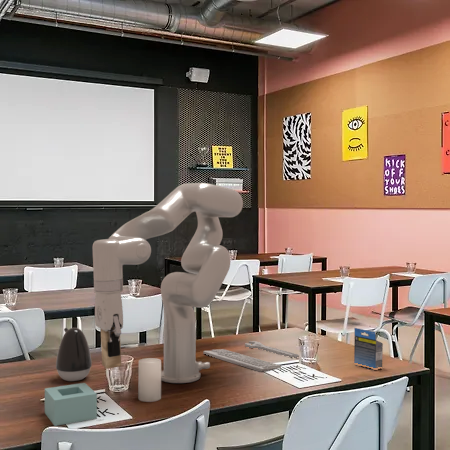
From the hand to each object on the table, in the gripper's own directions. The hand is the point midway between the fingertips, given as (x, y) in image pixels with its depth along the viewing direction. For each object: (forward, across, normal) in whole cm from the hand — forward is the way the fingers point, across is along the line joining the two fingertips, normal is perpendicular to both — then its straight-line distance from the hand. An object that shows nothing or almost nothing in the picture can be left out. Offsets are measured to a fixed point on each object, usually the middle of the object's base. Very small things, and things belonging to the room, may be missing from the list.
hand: (111, 353), depth 153 cm
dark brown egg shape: (+12, -22, -5) cm, 25 cm away
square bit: (+3, 0, 0) cm, 3 cm away
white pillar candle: (+12, +6, +8) cm, 16 cm away
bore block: (+11, +8, -14) cm, 20 cm away
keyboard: (+15, -16, +50) cm, 55 cm away
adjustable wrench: (+16, -21, +66) cm, 71 cm away
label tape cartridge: (+16, +11, +82) cm, 84 cm away
